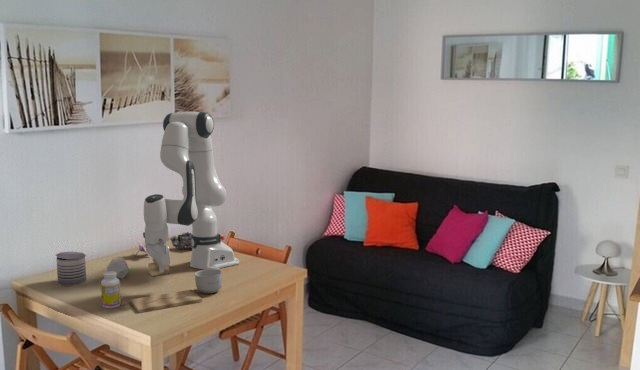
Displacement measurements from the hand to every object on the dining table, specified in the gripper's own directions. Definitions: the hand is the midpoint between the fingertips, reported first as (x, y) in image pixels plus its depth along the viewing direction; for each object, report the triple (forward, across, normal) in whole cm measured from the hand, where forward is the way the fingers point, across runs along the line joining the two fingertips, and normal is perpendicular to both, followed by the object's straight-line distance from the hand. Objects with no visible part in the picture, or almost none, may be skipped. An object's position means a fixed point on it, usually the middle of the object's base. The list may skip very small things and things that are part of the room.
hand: (159, 270), depth 250 cm
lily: (+10, +53, -8) cm, 55 cm away
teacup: (+10, -8, -18) cm, 22 cm away
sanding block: (+2, 0, 0) cm, 2 cm away
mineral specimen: (+11, +55, -31) cm, 64 cm away
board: (+9, -12, +2) cm, 15 cm away
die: (+9, +27, +10) cm, 30 cm away
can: (+9, +30, +28) cm, 42 cm away
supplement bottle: (+8, -6, +20) cm, 23 cm away
